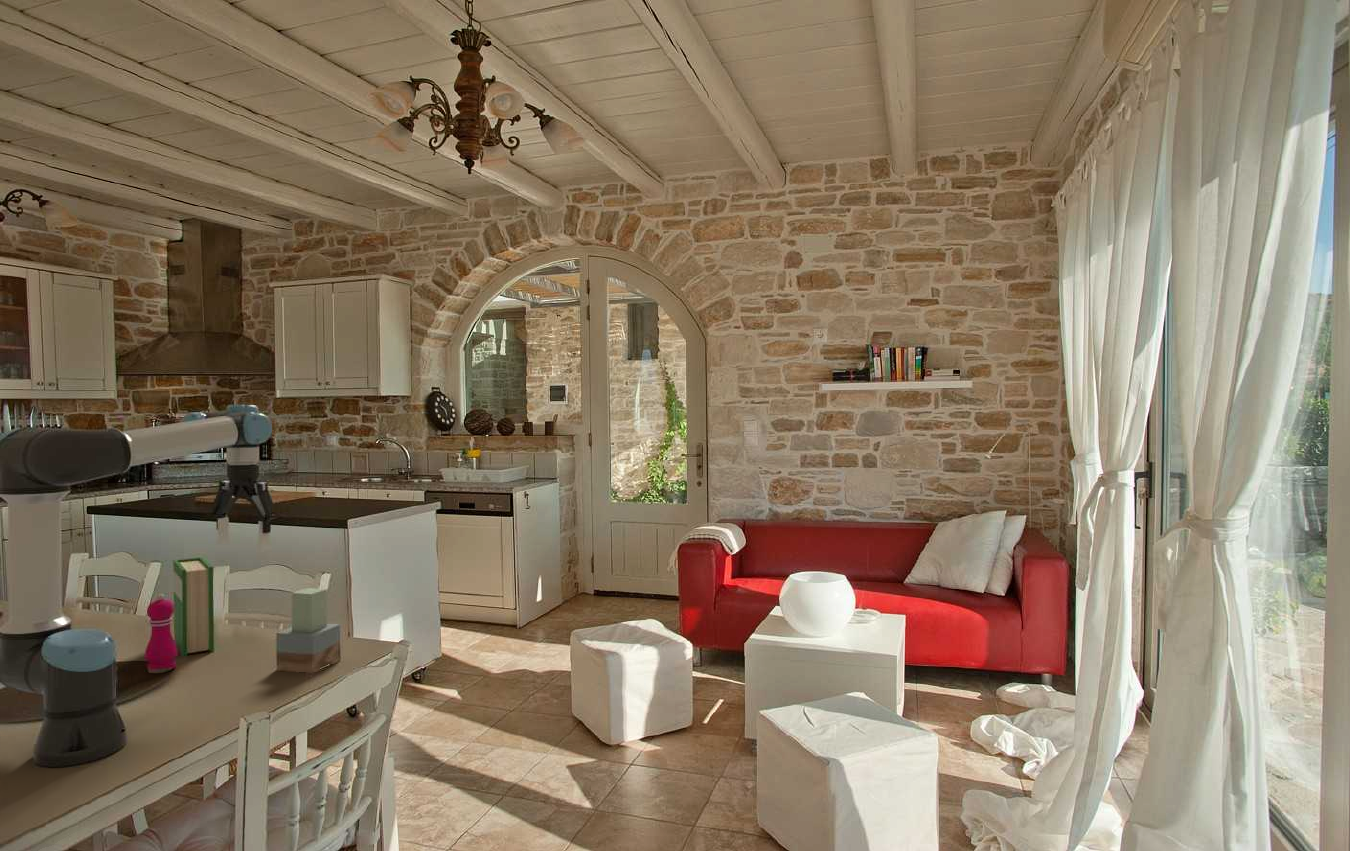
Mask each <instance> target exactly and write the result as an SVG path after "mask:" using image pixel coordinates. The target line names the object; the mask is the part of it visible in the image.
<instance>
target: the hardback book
mask: <svg viewBox="0 0 1350 851" xmlns="http://www.w3.org/2000/svg"><path fill="white" fill-rule="evenodd" d="M172 565H173V566H172V567H173V605H174V612H173V630H174V631H173V632H174V634H173V635H174V636H173V637H174V638H173V640H174V641H175V643H176V646H177V650H178V652H180V654H181V656H182V658H186V657H188V654H191V653H197V652H203V651H204V652H205V651H209V653H214V652H215V639H214V638H215V635H214V634H215V633H214V632H215V631H214V630H215V625H214V624H215V622H214V617H215V616H214V566H213V565H212V564H210V563H209V562H208V561H207V559H205V558H204V557H203V556H201V557H191V558H181V559H173V562H172Z"/></svg>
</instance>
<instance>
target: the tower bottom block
mask: <svg viewBox="0 0 1350 851" xmlns="http://www.w3.org/2000/svg"><path fill="white" fill-rule="evenodd" d="M275 652H276V651H275ZM341 653H342V652H341V642H340V643H338V644H336V645H334V646H332V647H330V648H327V649H325V650H323V651H321V652H319V653H316V654H314V655H306V654H295V653H283V652H276V671H282V670H284V672H291V671H293V672H294V671H295V672H294V673H299V672H306V673H305V674H308V673H313V672H315V671H317V670H319V669H320V668H322V667H324V666H326V665H328V664H332V663H334V662H336V661H338V660H340V659H341ZM332 665H333V664H332ZM319 671H320V670H319ZM317 672H318V671H317ZM315 673H316V672H315ZM313 674H314V673H313Z"/></svg>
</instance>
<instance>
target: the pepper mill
mask: <svg viewBox="0 0 1350 851" xmlns="http://www.w3.org/2000/svg"><path fill="white" fill-rule="evenodd" d="M146 614H147V616H148V617H149V618H150V619H149V620H148V621H149V626H150V627H151V635H150V638H149V641H148V643H147V646H146V648H145V652H144V658H145V660H146V661H147V662H148V664H147V665H146V669H147V668H150V669H161V668H169V667H172V668H175V669H176V666H177V665H176V663H177V662H176V660H174V659H175V658H176V657H177V655H178V652H179V650H178V647H177V645H176V643H175V641H174V638H173V637H174V636H172V632H171V624H172V623H173V620H172V619H173V617H172V615H174V602H172V601H170V600H169V599H165V595H164V594H163V593H159V594H157V595H156V600H154V601H152V602H151V603H150V604H149V605H148V606H147V608H146Z"/></svg>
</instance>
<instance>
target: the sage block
mask: <svg viewBox="0 0 1350 851" xmlns="http://www.w3.org/2000/svg"><path fill="white" fill-rule="evenodd" d="M327 592H328V590H327V588H313V587H307V588H303V589H300V590H297V591H294V592H291V627H292V631H304V632H313V631H316V630H318V629H321V628H323V627H326V626H327V624H328V620H327V618H328V613H327V612H328V608H327V607H328V604H327V599H328V598H327V595H328V593H327Z"/></svg>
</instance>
